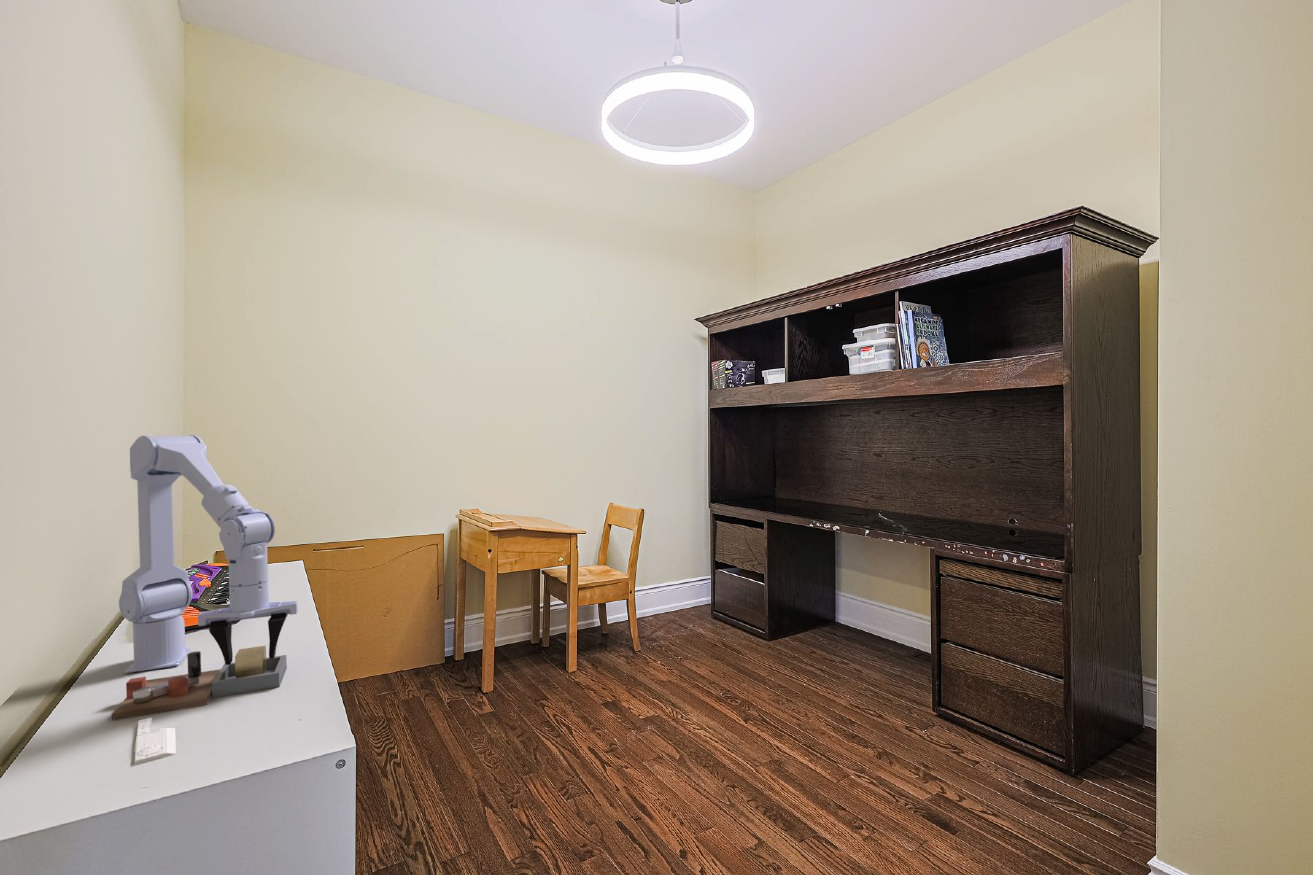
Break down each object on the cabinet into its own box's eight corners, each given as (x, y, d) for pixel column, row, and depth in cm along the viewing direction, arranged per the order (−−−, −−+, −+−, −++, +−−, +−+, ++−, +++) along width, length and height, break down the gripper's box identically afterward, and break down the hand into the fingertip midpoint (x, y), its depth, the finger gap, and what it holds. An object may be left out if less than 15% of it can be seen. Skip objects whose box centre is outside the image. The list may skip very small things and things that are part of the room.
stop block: (240, 677, 110) (239, 649, 110) (266, 673, 112) (265, 645, 111) (235, 685, 106) (234, 656, 106) (263, 681, 108) (262, 652, 108)
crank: (197, 680, 107) (196, 650, 106) (204, 683, 105) (203, 652, 105) (130, 700, 99) (129, 667, 99) (136, 704, 97) (135, 671, 97)
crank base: (142, 686, 108) (142, 666, 108) (225, 673, 113) (225, 654, 112) (111, 720, 95) (111, 697, 95) (206, 704, 100) (205, 682, 100)
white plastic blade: (180, 716, 97) (180, 709, 97) (181, 756, 85) (181, 748, 85) (137, 725, 93) (137, 718, 93) (133, 768, 82) (133, 759, 82)
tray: (224, 676, 111) (224, 663, 111) (286, 667, 115) (286, 654, 115) (212, 697, 102) (211, 683, 102) (279, 686, 106) (279, 672, 106)
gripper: (192, 593, 102) (194, 675, 102) (293, 582, 108) (295, 660, 108) (203, 583, 108) (205, 660, 108) (298, 574, 114) (300, 647, 114)
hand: (250, 659), depth 109 cm, fingers open, 6 cm apart
